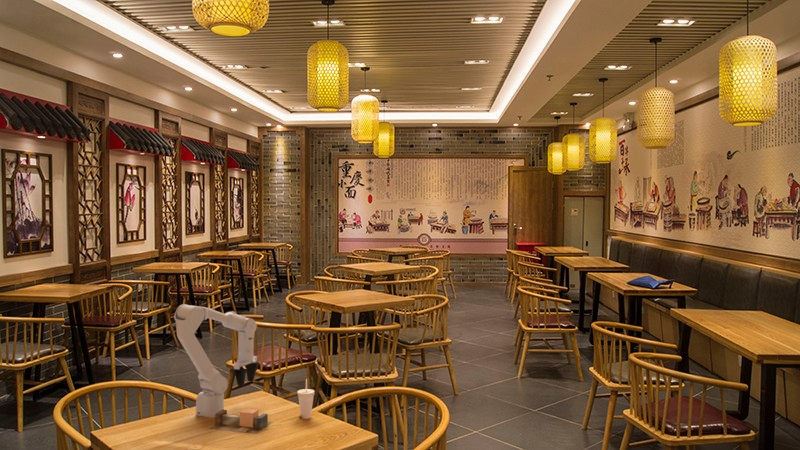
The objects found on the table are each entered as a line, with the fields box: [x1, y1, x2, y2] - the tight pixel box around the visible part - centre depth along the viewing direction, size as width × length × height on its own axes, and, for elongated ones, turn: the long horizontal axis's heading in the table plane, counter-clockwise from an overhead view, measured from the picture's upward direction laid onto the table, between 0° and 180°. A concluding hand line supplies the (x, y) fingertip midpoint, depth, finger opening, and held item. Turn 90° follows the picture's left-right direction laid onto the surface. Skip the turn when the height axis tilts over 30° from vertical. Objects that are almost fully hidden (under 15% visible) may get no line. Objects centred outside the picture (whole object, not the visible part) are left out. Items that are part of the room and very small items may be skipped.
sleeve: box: [239, 408, 259, 427], centre depth 211 cm, size 5×4×5 cm
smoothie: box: [296, 378, 315, 420], centre depth 224 cm, size 6×6×14 cm
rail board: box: [208, 409, 273, 435], centre depth 212 cm, size 18×12×5 cm, turn 75°
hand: (245, 383), depth 235 cm, fingers open, 7 cm apart
